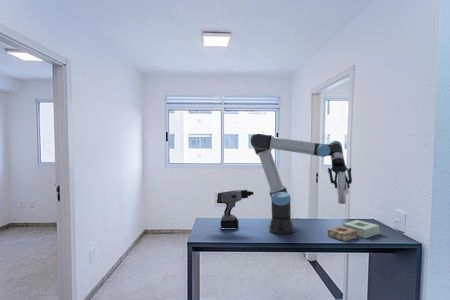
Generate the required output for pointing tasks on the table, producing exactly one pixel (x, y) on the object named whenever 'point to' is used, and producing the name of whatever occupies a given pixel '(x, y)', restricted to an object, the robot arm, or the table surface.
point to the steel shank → (342, 188)
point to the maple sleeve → (342, 233)
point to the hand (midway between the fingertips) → (343, 192)
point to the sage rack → (363, 228)
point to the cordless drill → (231, 206)
